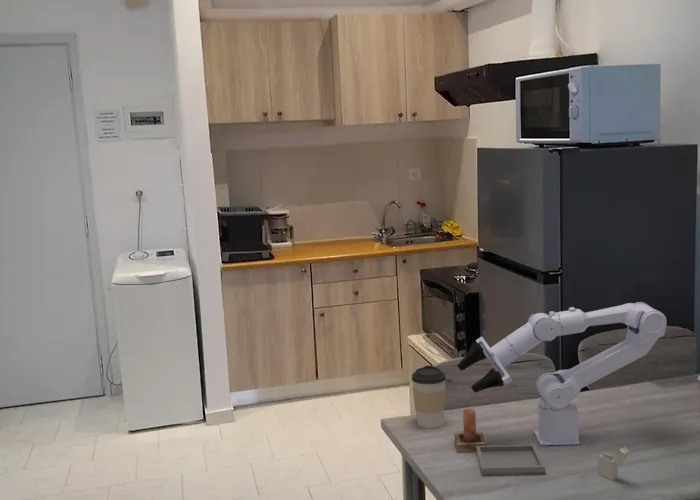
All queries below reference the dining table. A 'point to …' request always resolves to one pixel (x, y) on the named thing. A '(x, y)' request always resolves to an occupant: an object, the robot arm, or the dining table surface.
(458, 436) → the collar
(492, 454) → the tray
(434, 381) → the coffee cup
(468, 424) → the dowel
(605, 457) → the lighter
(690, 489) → the dining table surface
